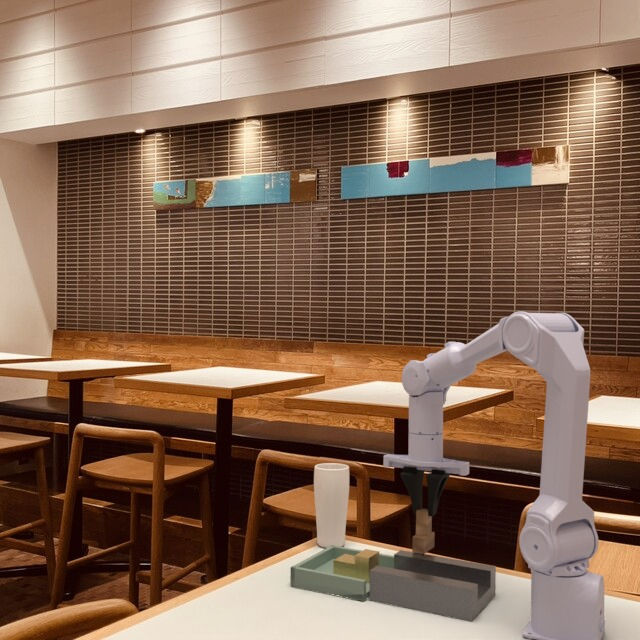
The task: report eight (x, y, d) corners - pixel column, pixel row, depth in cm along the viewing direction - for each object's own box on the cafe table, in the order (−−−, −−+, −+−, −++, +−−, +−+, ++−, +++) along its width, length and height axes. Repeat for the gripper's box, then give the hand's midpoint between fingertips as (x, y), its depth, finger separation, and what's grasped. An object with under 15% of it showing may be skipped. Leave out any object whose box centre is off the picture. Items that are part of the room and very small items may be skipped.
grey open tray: (495, 595, 116) (495, 566, 116) (471, 621, 105) (472, 589, 105) (400, 577, 123) (400, 550, 123) (369, 600, 113) (369, 570, 113)
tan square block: (379, 551, 121) (365, 549, 122) (368, 558, 117) (354, 555, 119) (379, 576, 121) (365, 573, 122) (368, 583, 117) (354, 580, 119)
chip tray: (399, 574, 124) (400, 557, 124) (363, 601, 112) (363, 581, 112) (331, 562, 131) (331, 545, 131) (290, 586, 119) (290, 567, 119)
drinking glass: (345, 551, 137) (346, 470, 137) (309, 549, 138) (310, 468, 139) (351, 541, 144) (352, 463, 144) (317, 538, 145) (318, 462, 145)
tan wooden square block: (366, 572, 122) (366, 557, 122) (355, 579, 119) (355, 564, 119) (344, 568, 124) (344, 553, 124) (333, 575, 121) (333, 560, 121)
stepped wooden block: (434, 546, 125) (434, 508, 125) (423, 554, 121) (424, 514, 121) (423, 545, 126) (423, 506, 126) (412, 552, 122) (412, 512, 122)
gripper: (475, 433, 124) (474, 514, 124) (395, 426, 131) (394, 503, 131) (462, 438, 118) (461, 523, 118) (378, 431, 125) (377, 512, 125)
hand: (425, 513), depth 124 cm, fingers closed on stepped wooden block, 2 cm apart
